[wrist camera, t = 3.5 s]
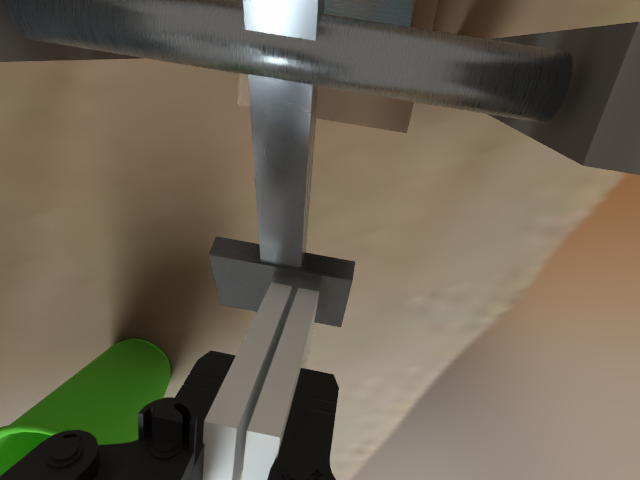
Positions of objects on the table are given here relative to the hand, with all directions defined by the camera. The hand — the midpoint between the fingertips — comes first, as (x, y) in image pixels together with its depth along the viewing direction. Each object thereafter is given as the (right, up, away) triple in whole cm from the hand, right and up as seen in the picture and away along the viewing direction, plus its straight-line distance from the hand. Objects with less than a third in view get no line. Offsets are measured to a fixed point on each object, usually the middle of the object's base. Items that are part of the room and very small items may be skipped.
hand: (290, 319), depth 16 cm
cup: (-13, -7, +19) cm, 24 cm away
